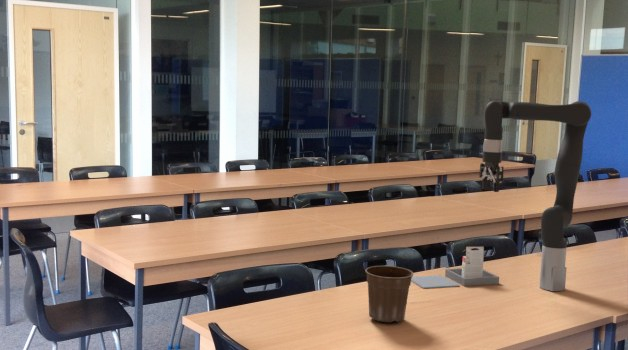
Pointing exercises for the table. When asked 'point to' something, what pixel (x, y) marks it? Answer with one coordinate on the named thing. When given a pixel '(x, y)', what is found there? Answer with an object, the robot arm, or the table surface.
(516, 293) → the table surface
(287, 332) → the table surface
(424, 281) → the slate mat
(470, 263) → the ink box
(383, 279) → the plant pot
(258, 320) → the table surface
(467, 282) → the desk holder
